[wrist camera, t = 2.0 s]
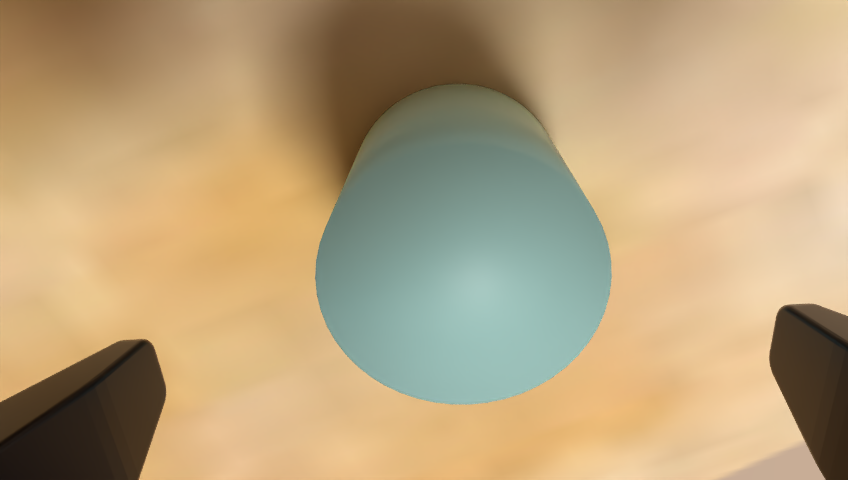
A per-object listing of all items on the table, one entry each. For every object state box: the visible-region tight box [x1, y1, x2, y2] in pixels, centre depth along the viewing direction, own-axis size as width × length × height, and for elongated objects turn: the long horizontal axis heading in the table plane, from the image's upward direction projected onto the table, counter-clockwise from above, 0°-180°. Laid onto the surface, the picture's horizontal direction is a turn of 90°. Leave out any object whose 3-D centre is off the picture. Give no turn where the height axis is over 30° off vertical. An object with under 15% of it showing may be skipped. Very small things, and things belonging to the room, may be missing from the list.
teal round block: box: [315, 84, 612, 404], centre depth 13 cm, size 5×5×5 cm
